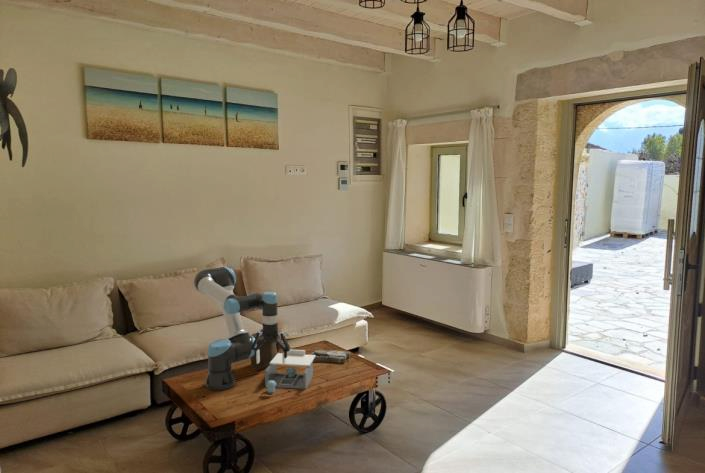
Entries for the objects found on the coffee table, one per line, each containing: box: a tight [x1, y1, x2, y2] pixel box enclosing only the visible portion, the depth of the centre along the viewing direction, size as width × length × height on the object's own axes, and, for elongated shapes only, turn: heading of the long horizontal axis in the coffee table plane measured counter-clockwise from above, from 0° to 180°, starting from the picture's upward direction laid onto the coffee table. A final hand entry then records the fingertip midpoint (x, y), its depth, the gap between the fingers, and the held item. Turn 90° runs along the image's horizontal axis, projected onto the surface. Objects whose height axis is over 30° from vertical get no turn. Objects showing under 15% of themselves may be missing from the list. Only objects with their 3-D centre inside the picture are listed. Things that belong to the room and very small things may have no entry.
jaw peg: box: [266, 380, 276, 396], centre depth 244 cm, size 5×5×6 cm
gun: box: [308, 349, 352, 364], centre depth 293 cm, size 4×24×15 cm
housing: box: [264, 362, 314, 390], centre depth 256 cm, size 22×16×10 cm
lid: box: [270, 348, 316, 368], centre depth 263 cm, size 22×15×3 cm
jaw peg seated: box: [285, 366, 297, 379], centre depth 260 cm, size 5×5×6 cm
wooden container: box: [250, 328, 277, 371], centre depth 281 cm, size 15×15×22 cm
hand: (271, 363), depth 243 cm, fingers open, 13 cm apart
